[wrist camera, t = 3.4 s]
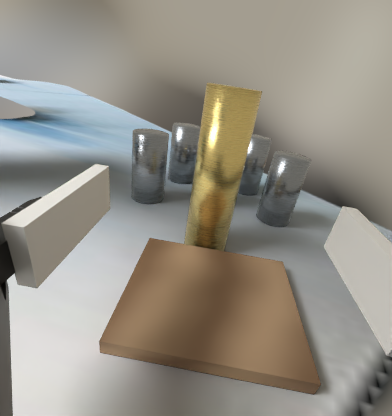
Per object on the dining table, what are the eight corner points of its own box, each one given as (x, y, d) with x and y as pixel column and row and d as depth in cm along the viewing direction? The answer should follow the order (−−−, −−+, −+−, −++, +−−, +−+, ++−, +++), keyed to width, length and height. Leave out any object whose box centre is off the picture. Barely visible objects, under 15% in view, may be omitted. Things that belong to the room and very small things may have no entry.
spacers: (126, 200, 30) (127, 133, 26) (152, 169, 41) (156, 118, 37) (291, 229, 29) (316, 164, 26) (274, 189, 40) (289, 140, 36)
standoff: (181, 252, 23) (204, 83, 16) (187, 229, 26) (208, 82, 20) (224, 260, 23) (265, 92, 16) (224, 236, 26) (258, 90, 20)
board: (100, 352, 14) (99, 341, 13) (149, 247, 23) (149, 238, 22) (314, 394, 14) (321, 384, 13) (279, 270, 22) (282, 261, 22)
